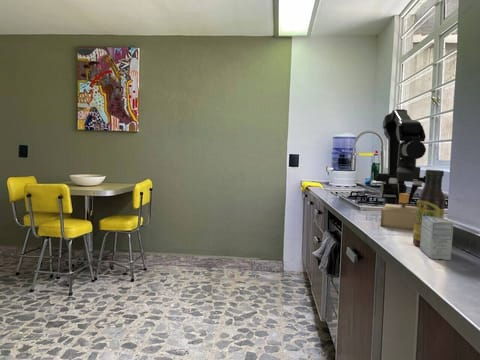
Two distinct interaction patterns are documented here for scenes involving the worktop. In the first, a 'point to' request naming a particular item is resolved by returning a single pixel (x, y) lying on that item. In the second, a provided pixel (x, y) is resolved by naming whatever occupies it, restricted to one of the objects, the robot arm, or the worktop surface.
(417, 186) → the robot arm
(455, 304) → the worktop surface
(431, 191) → the sauce bottle
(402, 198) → the pull drawer
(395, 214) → the carton
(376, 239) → the worktop surface
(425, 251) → the medicine box
